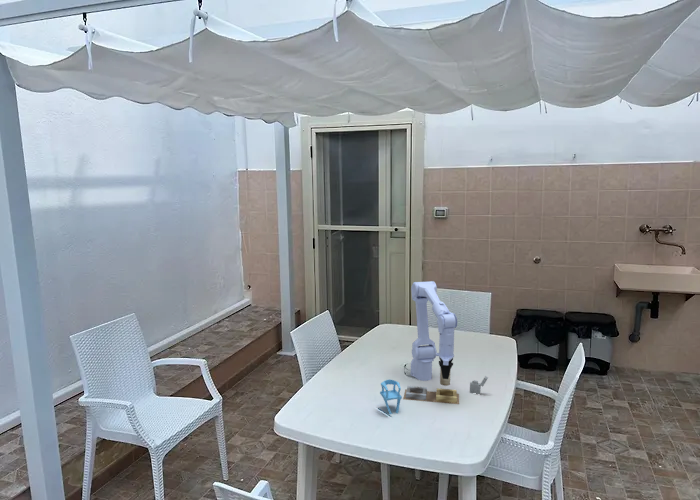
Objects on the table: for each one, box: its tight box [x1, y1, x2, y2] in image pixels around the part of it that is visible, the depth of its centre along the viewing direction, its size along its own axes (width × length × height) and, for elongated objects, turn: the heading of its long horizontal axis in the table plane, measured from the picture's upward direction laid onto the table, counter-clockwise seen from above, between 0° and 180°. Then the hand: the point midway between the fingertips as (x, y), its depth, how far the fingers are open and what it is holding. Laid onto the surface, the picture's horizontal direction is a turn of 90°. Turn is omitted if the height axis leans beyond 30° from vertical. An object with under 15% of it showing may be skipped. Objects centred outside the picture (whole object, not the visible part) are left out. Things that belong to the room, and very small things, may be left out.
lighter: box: [469, 375, 489, 395], centre depth 208 cm, size 7×2×8 cm, turn 63°
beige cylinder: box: [439, 366, 451, 387], centre depth 201 cm, size 4×4×8 cm
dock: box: [402, 385, 460, 405], centre depth 203 cm, size 22×10×3 cm, turn 79°
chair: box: [377, 379, 403, 418], centre depth 191 cm, size 8×8×12 cm
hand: (445, 376), depth 201 cm, fingers closed on beige cylinder, 4 cm apart
